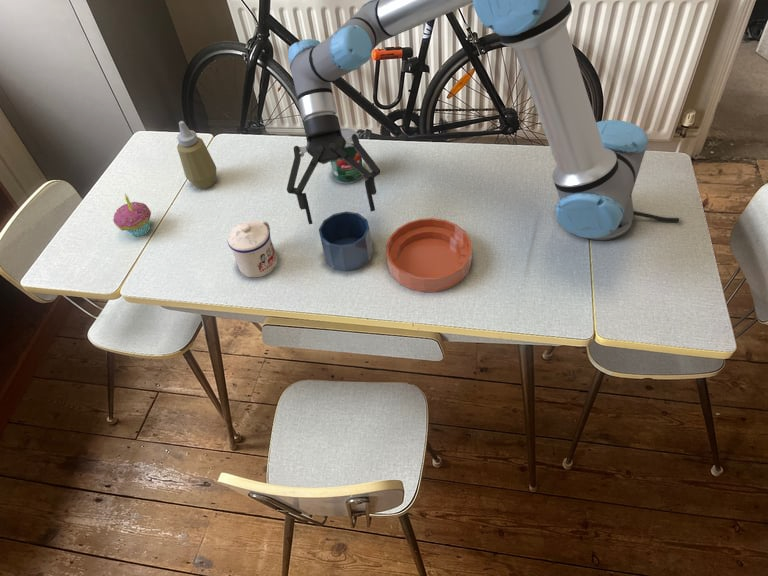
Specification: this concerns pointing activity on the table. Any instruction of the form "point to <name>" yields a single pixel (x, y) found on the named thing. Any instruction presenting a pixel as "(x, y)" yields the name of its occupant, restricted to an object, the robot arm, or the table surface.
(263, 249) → the teacup with lid
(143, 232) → the cupcake
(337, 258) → the blue faceted pot
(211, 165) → the squeeze bottle
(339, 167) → the canned tomato
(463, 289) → the table surface
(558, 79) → the robot arm
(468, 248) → the lower bowl
